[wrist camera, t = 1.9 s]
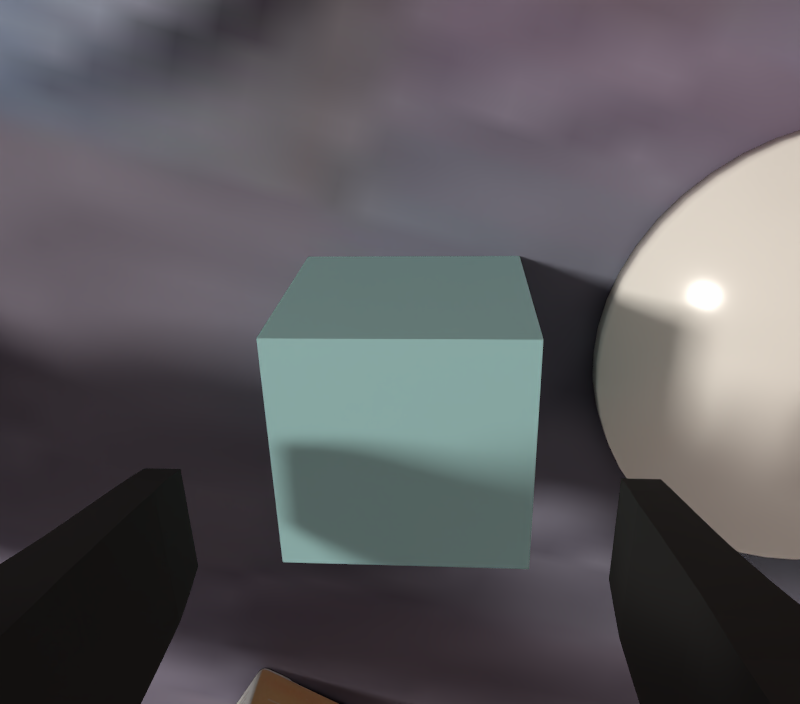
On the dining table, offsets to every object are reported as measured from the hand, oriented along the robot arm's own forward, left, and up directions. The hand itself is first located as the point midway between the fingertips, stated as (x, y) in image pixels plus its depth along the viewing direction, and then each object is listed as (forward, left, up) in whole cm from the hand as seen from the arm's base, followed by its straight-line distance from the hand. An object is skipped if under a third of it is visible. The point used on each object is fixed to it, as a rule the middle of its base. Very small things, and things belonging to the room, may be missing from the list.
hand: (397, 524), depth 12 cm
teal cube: (0, 0, -7) cm, 7 cm away
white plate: (+7, +7, -7) cm, 12 cm away
